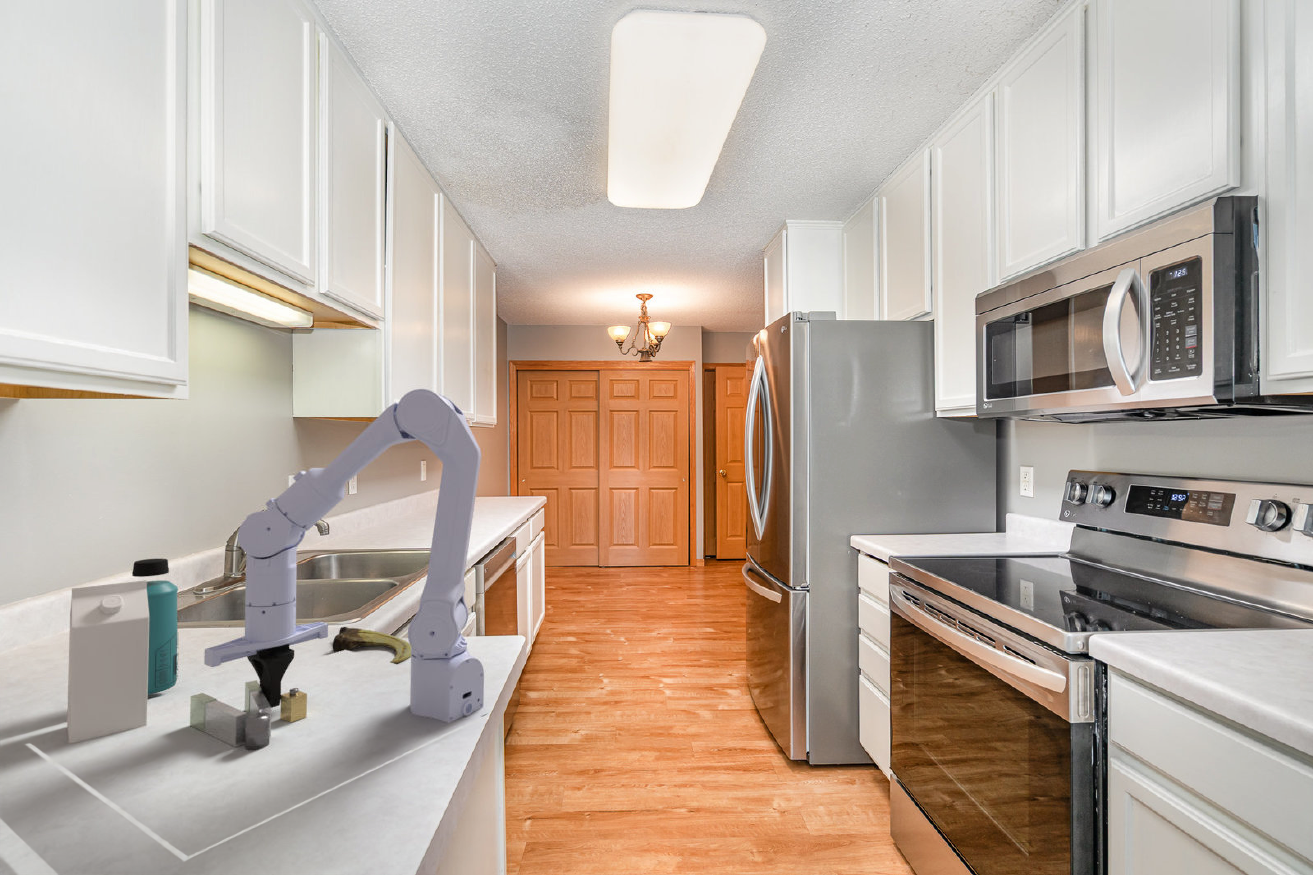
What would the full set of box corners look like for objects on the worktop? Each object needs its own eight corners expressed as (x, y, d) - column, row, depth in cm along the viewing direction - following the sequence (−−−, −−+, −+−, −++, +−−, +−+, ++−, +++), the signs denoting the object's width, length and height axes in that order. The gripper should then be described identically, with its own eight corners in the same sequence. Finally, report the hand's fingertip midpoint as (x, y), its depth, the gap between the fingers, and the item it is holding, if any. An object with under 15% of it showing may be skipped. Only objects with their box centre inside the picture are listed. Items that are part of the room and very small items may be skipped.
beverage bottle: (182, 697, 91) (185, 559, 91) (122, 712, 86) (126, 565, 86) (172, 686, 95) (175, 553, 96) (114, 699, 90) (118, 559, 91)
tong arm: (271, 736, 76) (271, 706, 76) (258, 739, 75) (259, 709, 75) (256, 707, 84) (256, 680, 84) (244, 709, 83) (245, 682, 83)
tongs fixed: (273, 746, 74) (274, 712, 74) (247, 756, 72) (248, 721, 72) (215, 719, 81) (216, 688, 81) (190, 727, 79) (190, 696, 79)
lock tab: (306, 717, 81) (306, 688, 81) (290, 722, 80) (291, 694, 80) (296, 712, 83) (296, 685, 83) (280, 718, 81) (280, 690, 81)
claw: (313, 651, 113) (314, 632, 113) (361, 636, 123) (361, 619, 123) (393, 670, 105) (394, 649, 105) (438, 653, 114) (438, 634, 114)
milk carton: (66, 736, 79) (70, 583, 79) (140, 719, 84) (143, 576, 84) (68, 756, 74) (72, 593, 74) (146, 737, 79) (150, 584, 79)
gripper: (308, 587, 91) (307, 682, 91) (193, 609, 79) (191, 718, 78) (337, 594, 87) (335, 692, 87) (221, 617, 75) (219, 732, 75)
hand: (269, 705), depth 82 cm, fingers closed, pressing on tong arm
